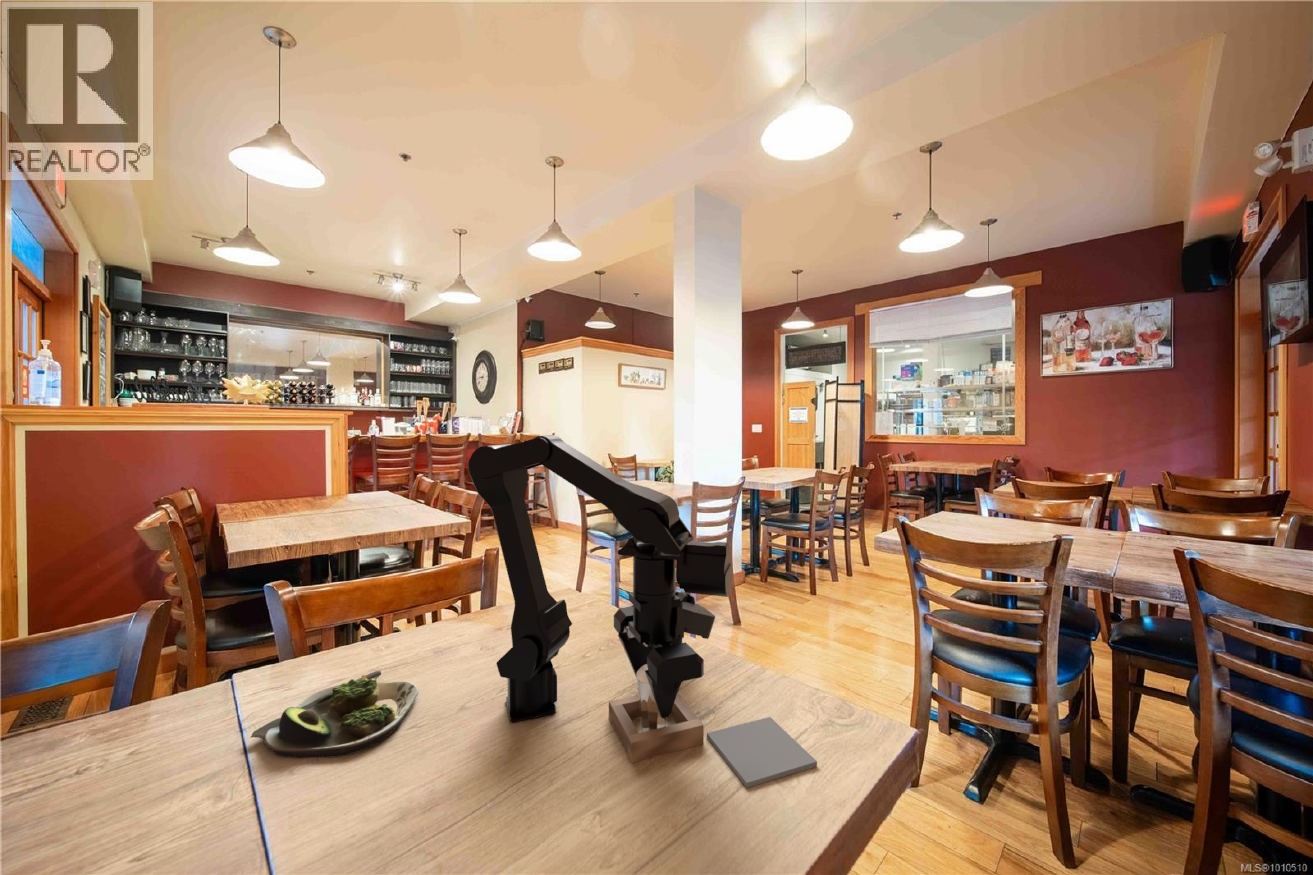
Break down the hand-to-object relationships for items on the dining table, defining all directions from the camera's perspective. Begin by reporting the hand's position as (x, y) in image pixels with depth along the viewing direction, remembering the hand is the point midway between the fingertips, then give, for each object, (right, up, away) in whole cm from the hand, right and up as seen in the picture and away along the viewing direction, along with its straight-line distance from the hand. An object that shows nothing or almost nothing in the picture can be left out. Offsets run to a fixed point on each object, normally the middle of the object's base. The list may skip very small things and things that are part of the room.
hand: (654, 701), depth 69 cm
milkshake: (0, -4, 0) cm, 4 cm away
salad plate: (-44, -5, +2) cm, 44 cm away
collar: (0, -4, 0) cm, 4 cm away
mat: (+14, -4, -4) cm, 15 cm away
